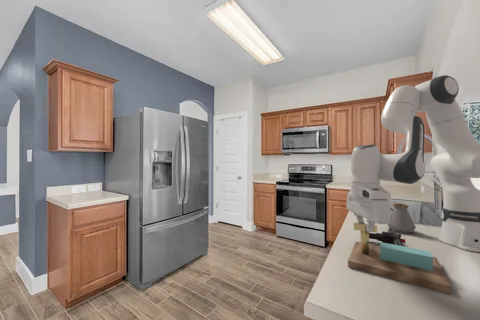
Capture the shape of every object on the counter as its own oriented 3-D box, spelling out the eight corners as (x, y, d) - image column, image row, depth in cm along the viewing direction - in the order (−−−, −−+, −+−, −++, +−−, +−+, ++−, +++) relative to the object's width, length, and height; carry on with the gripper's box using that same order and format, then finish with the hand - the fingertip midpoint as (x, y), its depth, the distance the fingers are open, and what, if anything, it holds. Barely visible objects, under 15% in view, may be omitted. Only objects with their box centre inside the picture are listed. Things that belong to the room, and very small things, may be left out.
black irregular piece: (363, 239, 82) (411, 246, 75) (360, 221, 99) (400, 225, 92) (363, 252, 82) (411, 260, 75) (360, 232, 99) (399, 237, 92)
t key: (353, 243, 82) (353, 218, 82) (374, 247, 79) (374, 220, 79) (353, 251, 75) (353, 224, 75) (377, 255, 71) (377, 226, 71)
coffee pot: (416, 230, 105) (416, 200, 105) (415, 236, 96) (415, 203, 96) (367, 222, 119) (367, 195, 119) (362, 226, 110) (362, 198, 110)
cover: (430, 264, 66) (430, 251, 66) (432, 270, 62) (432, 257, 62) (380, 253, 73) (380, 242, 73) (380, 258, 69) (380, 246, 69)
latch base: (436, 263, 71) (436, 257, 71) (451, 293, 54) (451, 286, 54) (355, 246, 84) (355, 241, 84) (348, 266, 68) (348, 260, 68)
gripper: (342, 186, 85) (342, 220, 84) (374, 194, 64) (374, 240, 64) (357, 186, 84) (357, 221, 84) (394, 194, 64) (394, 240, 64)
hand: (365, 229), depth 74 cm, fingers closed on t key, 3 cm apart
